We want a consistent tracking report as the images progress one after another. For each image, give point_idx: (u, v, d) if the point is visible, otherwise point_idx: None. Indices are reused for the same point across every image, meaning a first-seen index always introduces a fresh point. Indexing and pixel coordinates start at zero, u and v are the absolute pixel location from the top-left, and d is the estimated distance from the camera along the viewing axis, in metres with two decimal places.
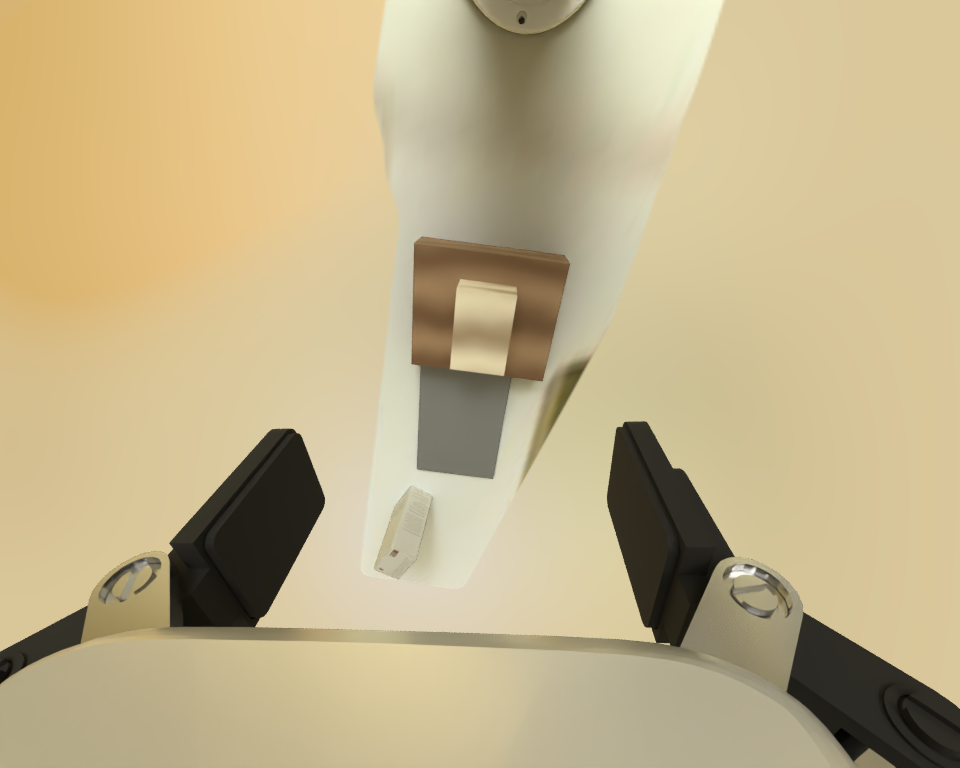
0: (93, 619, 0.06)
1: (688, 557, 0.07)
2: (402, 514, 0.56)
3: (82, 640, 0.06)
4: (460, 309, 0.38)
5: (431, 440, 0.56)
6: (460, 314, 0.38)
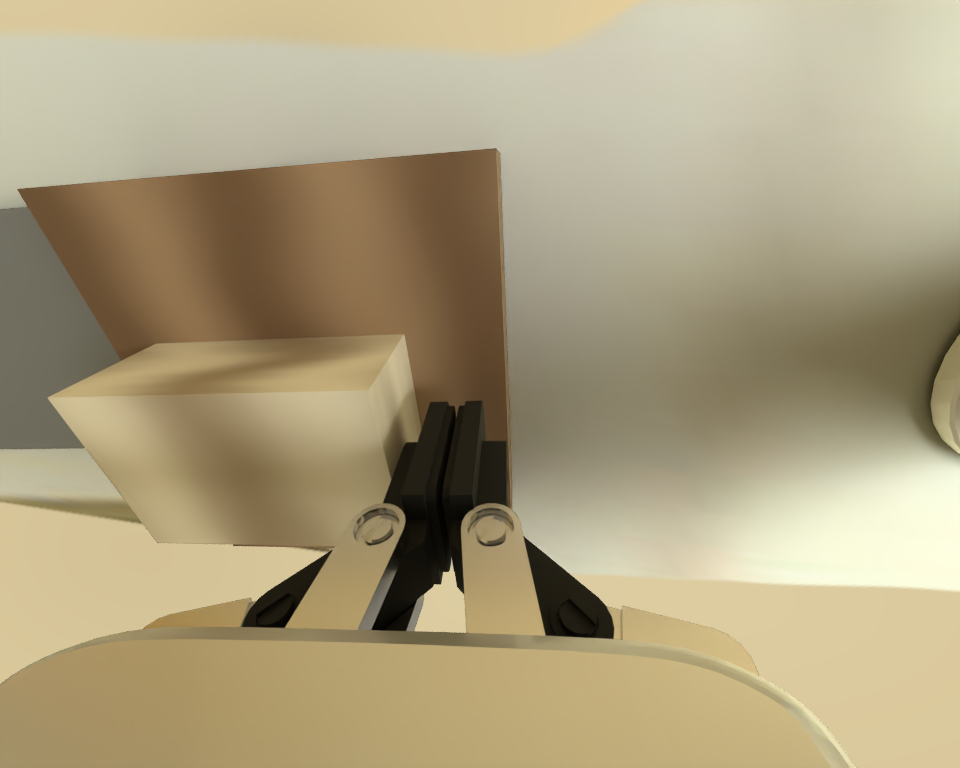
0: (341, 545, 0.07)
1: (455, 504, 0.08)
2: None
3: (328, 558, 0.07)
4: (297, 411, 0.10)
5: None
6: (278, 412, 0.10)
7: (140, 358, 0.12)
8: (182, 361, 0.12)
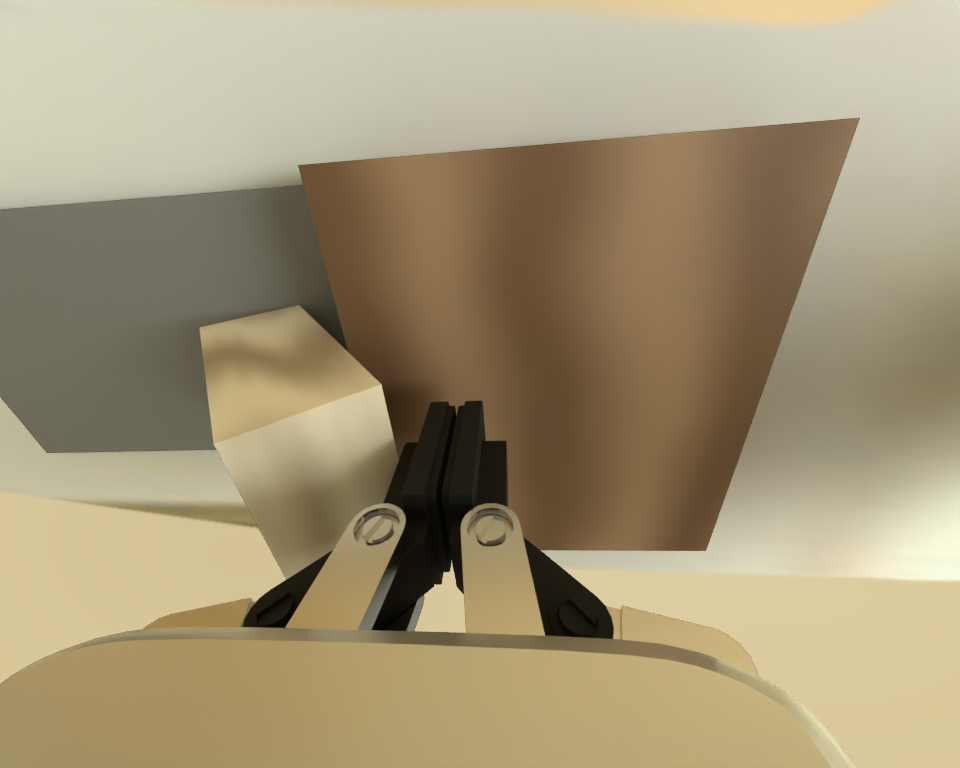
0: (341, 545, 0.07)
1: (455, 504, 0.08)
2: None
3: (328, 558, 0.07)
4: None
5: (23, 263, 0.16)
6: None
7: (269, 315, 0.15)
8: (268, 328, 0.13)
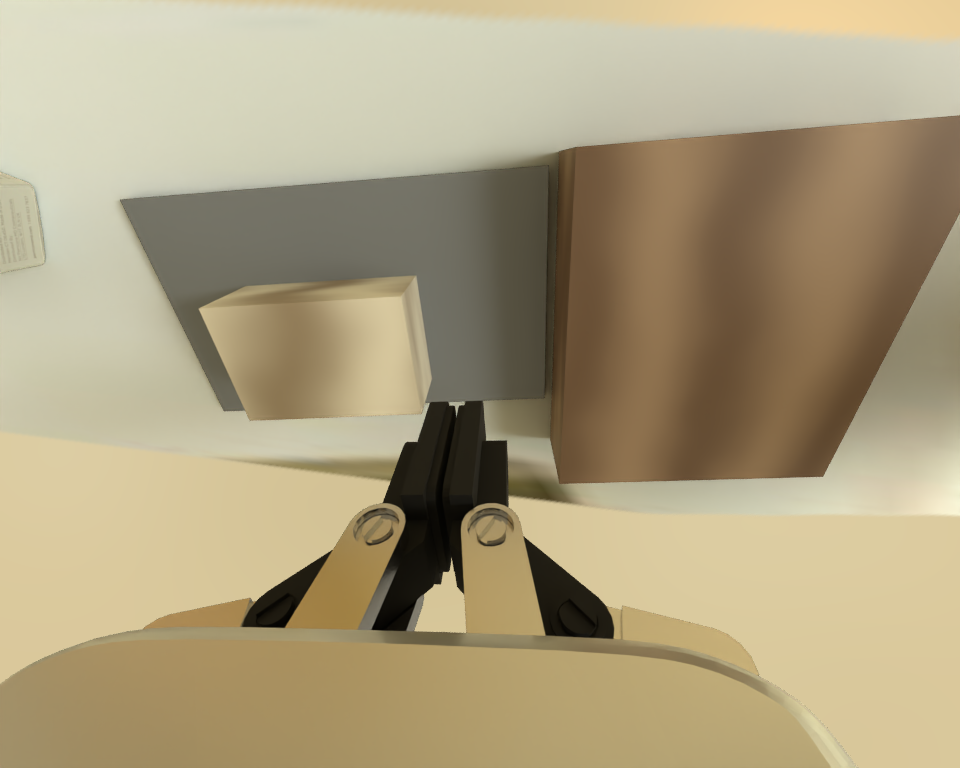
0: (341, 545, 0.07)
1: (455, 504, 0.08)
2: None
3: (328, 558, 0.07)
4: None
5: (258, 235, 0.18)
6: None
7: (394, 289, 0.17)
8: (359, 289, 0.17)
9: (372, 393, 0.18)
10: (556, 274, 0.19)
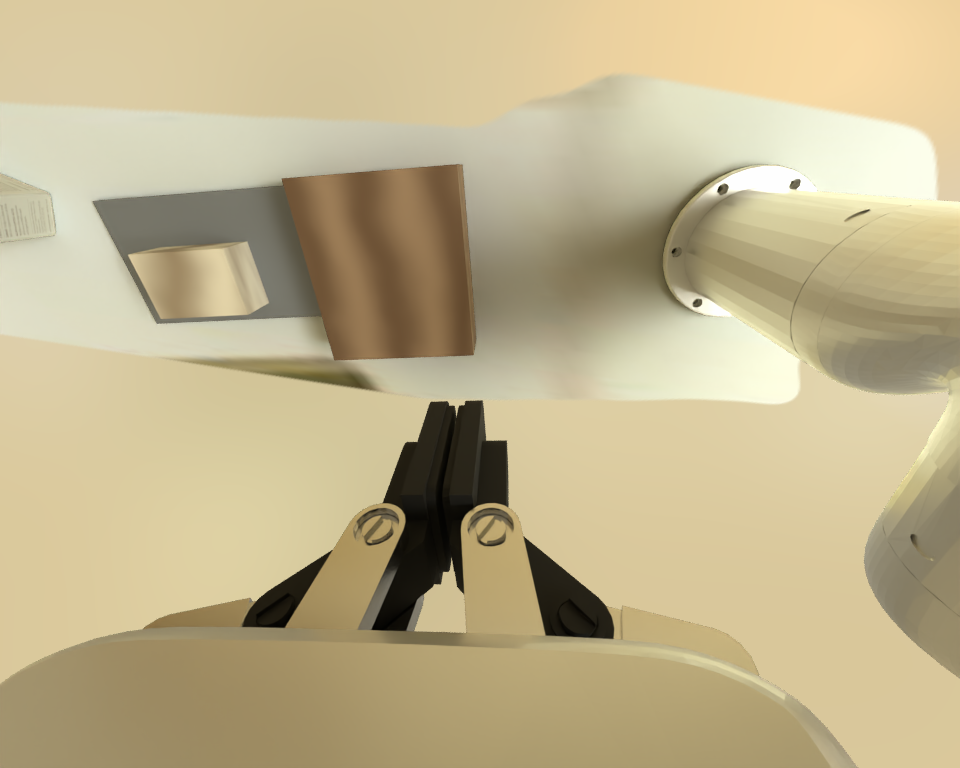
0: (341, 545, 0.07)
1: (455, 504, 0.08)
2: None
3: (328, 558, 0.07)
4: None
5: (163, 219, 0.35)
6: None
7: (225, 246, 0.34)
8: (209, 247, 0.34)
9: (220, 302, 0.35)
10: None
